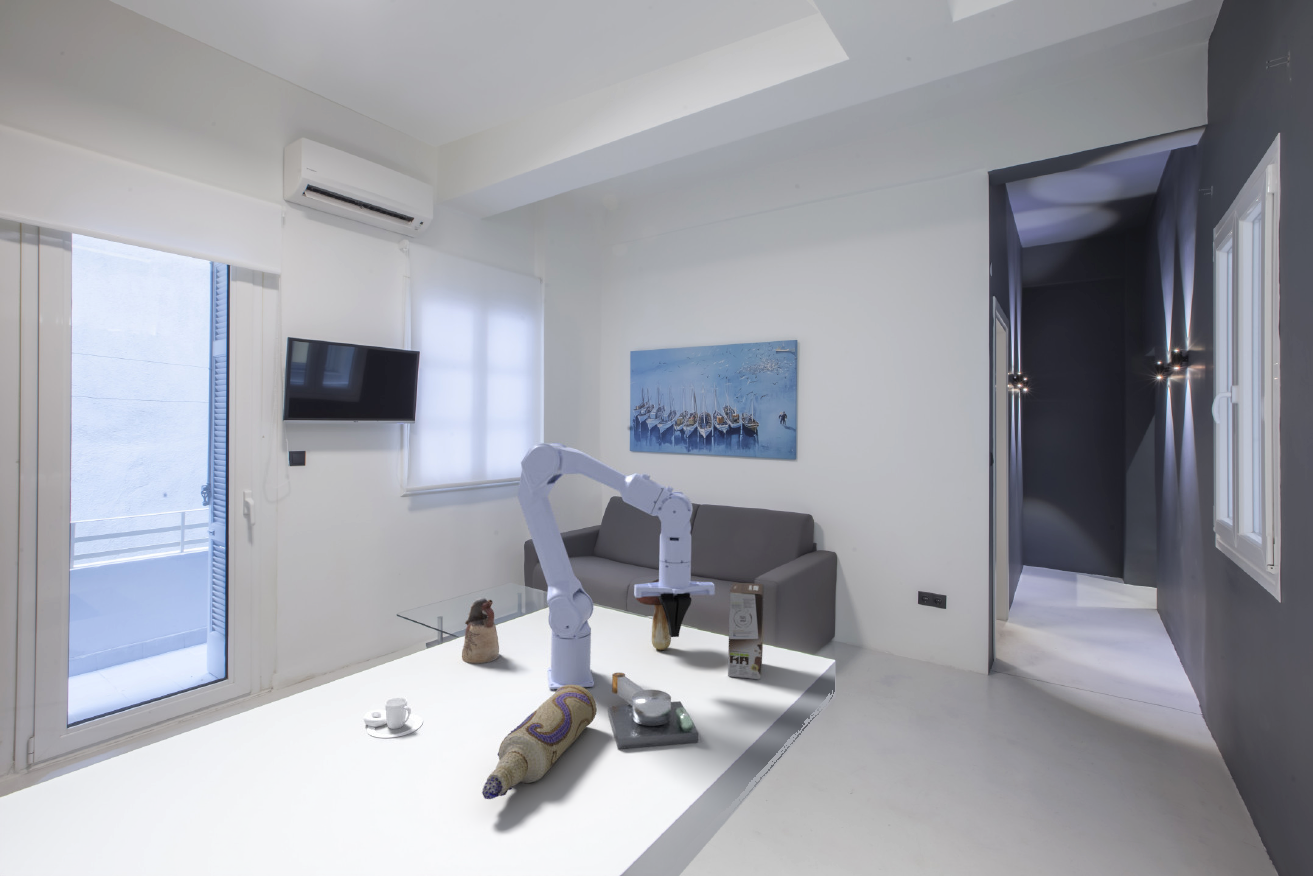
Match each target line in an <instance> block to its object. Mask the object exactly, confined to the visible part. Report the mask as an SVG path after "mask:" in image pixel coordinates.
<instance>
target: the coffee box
mask: <svg viewBox="0 0 1313 876" xmlns="http://www.w3.org/2000/svg"><path fill="white" fill-rule="evenodd" d="M728 617H729V619H728V651H727V653H728V654H727V655H728V656H727V657H728V659H727V661H728V662H727V677H733V678H742V679H752V680H760V679H761V676H762V667H763V648H764V647H763V646H764V645H763V643H764V642H763V641H764V584H763V583H751V582H746V583H745V582H743V583H742V582H741V583H740V582H732V584H731V587H730V590H729V615H728Z"/></svg>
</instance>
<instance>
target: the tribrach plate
mask: <svg viewBox="0 0 1313 876" xmlns="http://www.w3.org/2000/svg"><path fill="white" fill-rule="evenodd" d="M607 717H608V721H609V723H610V727H611V730H612V734H613V738H614V741H615V744H616V748H617V750H623V749H635V748H647V747H648V748H649V747H657V746H658V747H659V746H660V747H661V746H671V745H679V744H680V745H682V744H694V743H696V744H697V743H698V742H699V732H698V728H696V726H695V723H694V722H693V720H692V718H691V716H690V715H689V713H688V711H687V709H685V706H684V705H683V703H682V702H681V701H680V700H679V701H671V718H670V720H669V721H668V722H667V723H665V724H662V725H657V726H647V725H642V724H639V723H637V722H635V721H634V720H633V719H632V705H630V704H624V705H623V704H622V705H610V706H608V708H607Z"/></svg>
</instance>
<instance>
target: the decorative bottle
mask: <svg viewBox="0 0 1313 876" xmlns="http://www.w3.org/2000/svg"><path fill="white" fill-rule="evenodd" d="M597 711H598V707H597V704H596V700H595V698H594V696H593V694H592V693H591V692H590V691H589V690H588V689H586V687H581V686H579V685H565V686H562V687H560V688H559V689H556V691H555V692H554V693H553V694H552V695H551V696H550V697H549V698H547V699H546V700H545V701H544V702H542V704H541V705H539V706H538V708H537V709H536V710H534V711H533V712H531V714H529V715H528V716H527V717H526V718H525V719H524V720H523V721H522V722H521V723H519V725H518V726H516V727H515V728H514V729H513V730H510V732H509V733H508V734H507V735H506V736H505V737H504V739H502V741H501V743H500V745H499V749H498V753H497V757H498V760H499V761H498V763H497V765H496V767H495V769H494V770H493V771H492V772H491V773H490V774H489V775H488V777H487V778H486V782H485V783H484V785H483V788H482V791H481V794H482V796H483V798H484V799H485V800H493V799H495V798H497V797H502V796H505V795H507V793H508V791H511V790H512V789H513V786H515V785H518V784H519V783H524V784H530V783H531V784H532V783H533V782H537V781H539V780H540V779H542V778H543V777H544V776H545V775H546V773H547V772H548V771H549V770H550V769H551V767H552V766H554V764H555V762H556V761H558V759H560V757H561V756H562V755H563V754H564V752H565V751H567V749H568V748H569V747H571V745H572V744H573V743H574V742H575V741H576V740H577V739H578V737H580V735H581V734H582V732H583V731H584V730H585V729H586V728H587V727H588V726H589V725H590V724H591V723H592V722H593V721H594V719H595V718H596V716H597Z"/></svg>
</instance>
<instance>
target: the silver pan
mask: <svg viewBox="0 0 1313 876" xmlns="http://www.w3.org/2000/svg"><path fill="white" fill-rule="evenodd" d="M611 678H612V679H611V681H612V684H611V693H613V694H614V695H615V694H616V695H618V696H619V697H620V698H621V699H623V700H624V701H625V702H626V703H628V705H632V719H633V720H634V721H635V722H637V723H639V724H642V725H647V726H657V725H662V724H665V723H667V722H668V721H669V720H670V718H671V702H672V696H671V695H670V694H669V693H668V692H666V691H664V690H659V689H644V688H643V687H641V686H640V685H638V684H637V683H636V682H634V681H633V680H631V679H630V678H628V677H627V676H626V674H625V673H624V672H614V673H612V676H611Z"/></svg>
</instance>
